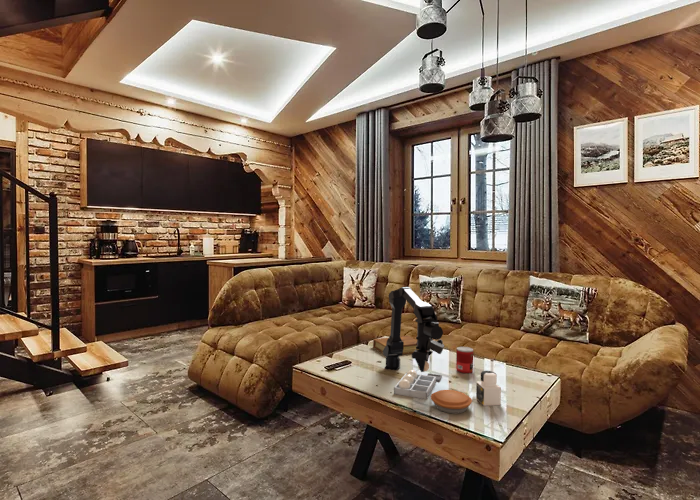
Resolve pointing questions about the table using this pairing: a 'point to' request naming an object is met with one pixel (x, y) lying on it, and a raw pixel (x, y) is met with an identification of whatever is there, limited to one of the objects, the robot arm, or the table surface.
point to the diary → (408, 345)
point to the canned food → (464, 359)
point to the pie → (451, 401)
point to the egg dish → (438, 377)
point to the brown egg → (425, 366)
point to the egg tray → (417, 387)
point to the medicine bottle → (488, 389)
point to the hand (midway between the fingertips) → (423, 370)
